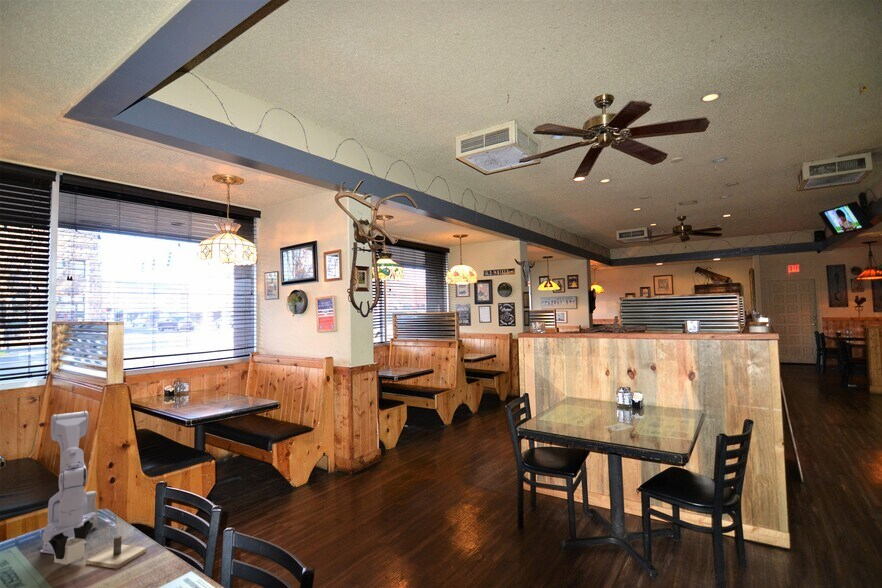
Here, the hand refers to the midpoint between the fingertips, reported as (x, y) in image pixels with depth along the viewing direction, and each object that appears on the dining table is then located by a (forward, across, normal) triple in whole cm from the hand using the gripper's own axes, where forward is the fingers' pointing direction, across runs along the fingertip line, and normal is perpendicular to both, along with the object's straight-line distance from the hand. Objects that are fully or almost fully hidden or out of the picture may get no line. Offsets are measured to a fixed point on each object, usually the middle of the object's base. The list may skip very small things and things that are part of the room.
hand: (69, 553), depth 133 cm
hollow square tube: (+2, 0, 0) cm, 2 cm away
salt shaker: (+4, +20, +18) cm, 27 cm away
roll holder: (+4, +7, -10) cm, 13 cm away
